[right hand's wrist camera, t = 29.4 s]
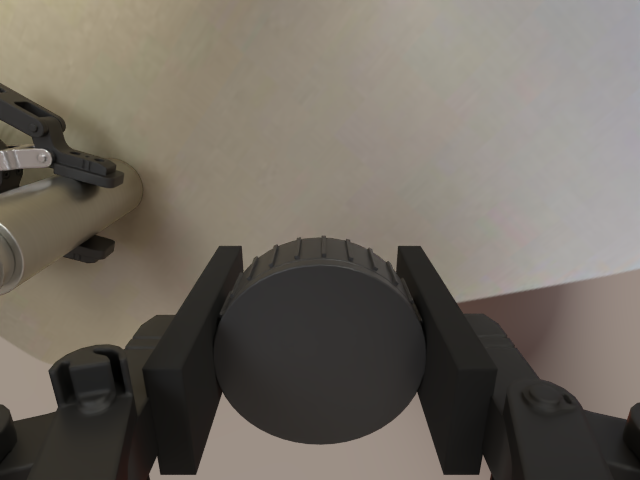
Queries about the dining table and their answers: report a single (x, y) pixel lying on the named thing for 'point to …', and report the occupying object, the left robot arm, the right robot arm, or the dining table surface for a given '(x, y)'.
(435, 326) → the right robot arm
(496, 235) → the dining table surface
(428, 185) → the dining table surface
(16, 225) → the silver metal cylinder
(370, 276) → the lid
